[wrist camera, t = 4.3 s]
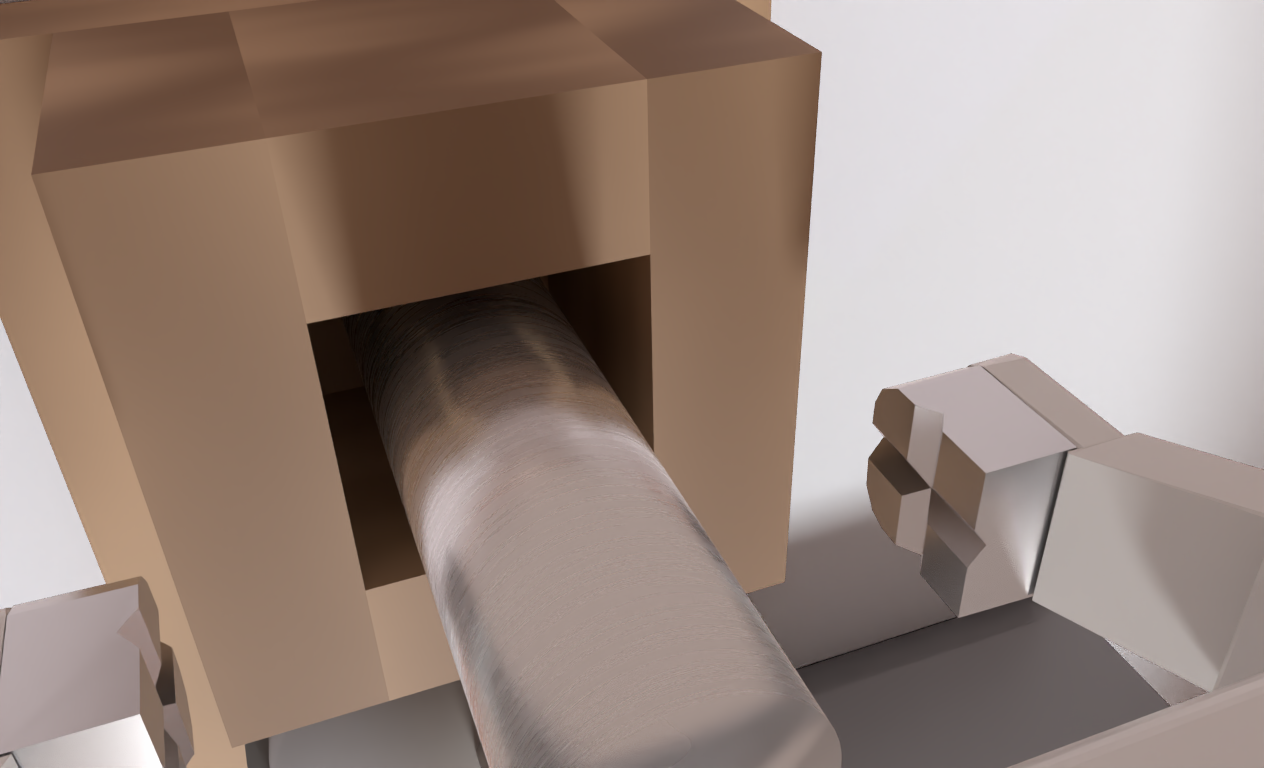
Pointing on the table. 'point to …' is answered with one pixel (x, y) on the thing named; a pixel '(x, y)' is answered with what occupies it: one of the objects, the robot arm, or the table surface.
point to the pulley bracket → (382, 302)
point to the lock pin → (569, 552)
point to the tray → (977, 691)
